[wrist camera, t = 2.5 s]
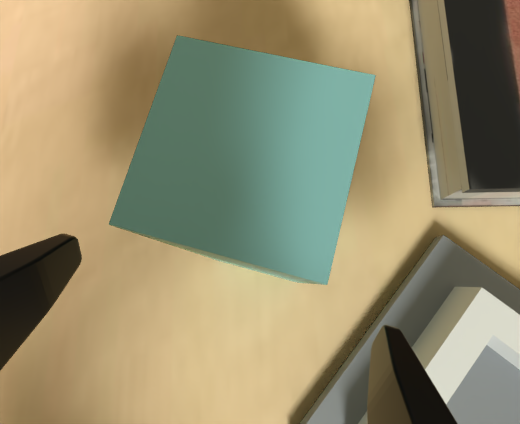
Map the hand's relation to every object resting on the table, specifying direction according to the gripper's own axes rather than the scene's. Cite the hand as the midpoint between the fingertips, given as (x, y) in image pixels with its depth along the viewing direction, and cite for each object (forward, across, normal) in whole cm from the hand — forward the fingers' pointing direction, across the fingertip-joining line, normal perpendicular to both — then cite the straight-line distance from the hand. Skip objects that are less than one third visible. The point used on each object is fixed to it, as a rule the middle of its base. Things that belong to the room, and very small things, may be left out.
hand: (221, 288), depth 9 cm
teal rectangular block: (+10, 0, +5) cm, 11 cm away
